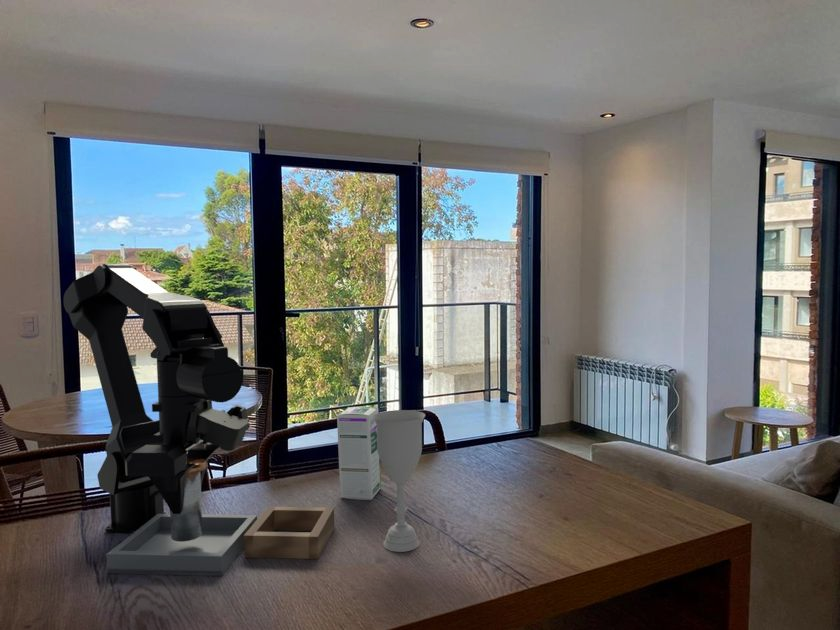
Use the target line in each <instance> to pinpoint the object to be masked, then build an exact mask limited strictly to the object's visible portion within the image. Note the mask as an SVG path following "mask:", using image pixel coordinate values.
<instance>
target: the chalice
mask: <svg viewBox="0 0 840 630" xmlns="http://www.w3.org/2000/svg"><path fill="white" fill-rule="evenodd" d="M425 417H426V413H424V412H421V411H418V410H410V409H409V410H408V409H401V410H400V409H399V410H396V409H395V410H394V409H393V410H386V411H382V412H378V413H377V414H375V415H374V416H373V419H374V420H375V422H376V424H377V452H378V455H379V458H380V464H381V466H382V467H383V469H384V471H385V473H386V475H387V477H388V479H389V481H390V482H392V483H395V484H396V494H395V495H394V499H396V502H397V503H396V507H394V512H396V515H397V520H396V522H395V523H394V524H393V525H391V526H390V527H389V529H388V530H387V534H386V535H385V539H384V541H383V543H382V545H383V548H384V549H386V550H388V551H391V552H398V553H402V552H409V551H413V550H416V549H417V548H418V547H419V546H420V540H419V538H418V537H417V536H418V535H417V534H416V531H415V528H414V527H413V526H412V525H410V524H408V522H406V519H405V514H406V512H407V511H408V508H407V507H406V505H405V500H406V498H407V494H406V491H405V483H407V482H409V481H411V479H412V477H413V475H414V473H415V470H416V469H417V467H418V464H419V461H420V458H421V455H422V451H423V431H422V430H423V428H422V427H423V426H422V425H423V424H422V423H423V421H424V419H425Z"/></svg>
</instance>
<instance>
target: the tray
mask: <svg viewBox="0 0 840 630" xmlns="http://www.w3.org/2000/svg"><path fill="white" fill-rule="evenodd" d="M257 519H258V515H257V514H210V513H209V514H206V513H205V514H204V513H202V532H203V533H202V535H201V536H200V537H198V538H196V539H194V540H190V541H183V542H178V541H174V540H172V539H171V521H170V513H166V514H157V515H156V516H154V517H153V518H152V519H151V520H149V521H148V522H147V523H145V524H144V525H143V526H142V527H140V528H139V529H138V530H137V531H135V532H132V533H131V534H130V535H129V536H128V537H126V538H125V539H124V540H122V542H120V543H119V544H117V545H116V546H115V547H113V548H112V549H111V550H110V551H109V552H107V553H105V554H106V573H107V574H120V575H121V574H125V575H132V574H133V575H164V576H165V575H169V576H171V575H175V576H179V575H180V576H212V577H213V576H214V577H215V576H216V577H218V576H219V577H222V576H224V574H225V573H226V572H227V570H229V568H230V567H231V565H233V563H234V562H235V561H236V559H237V558H238V557H239V556H240V554H241V553H242V552H244V535H245V533H246V532H247V531H248V530H249V529H250V527H251V526H252V525H253V524H254V523H255V522H256V520H257Z"/></svg>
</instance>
